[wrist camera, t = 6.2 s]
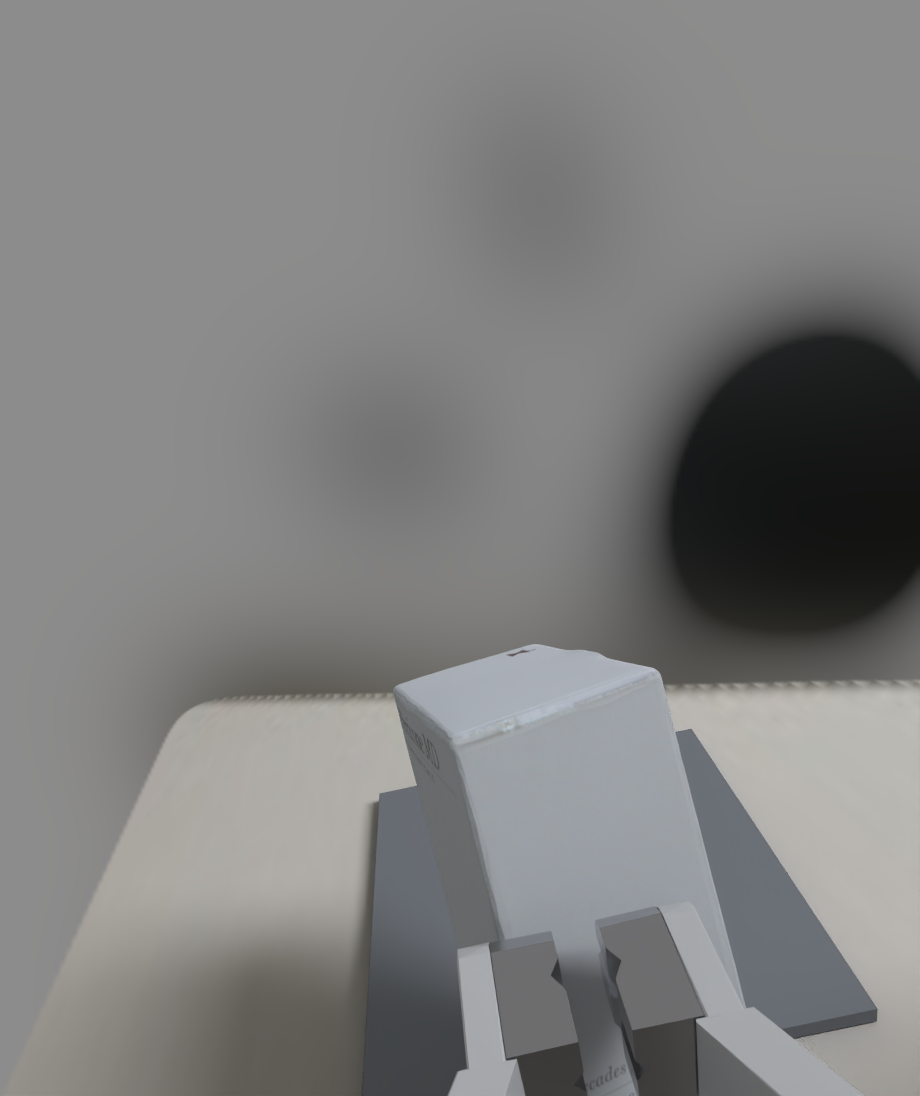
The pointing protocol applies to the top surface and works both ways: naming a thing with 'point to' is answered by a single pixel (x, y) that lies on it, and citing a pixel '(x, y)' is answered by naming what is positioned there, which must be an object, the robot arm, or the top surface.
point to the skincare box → (559, 815)
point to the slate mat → (431, 948)
